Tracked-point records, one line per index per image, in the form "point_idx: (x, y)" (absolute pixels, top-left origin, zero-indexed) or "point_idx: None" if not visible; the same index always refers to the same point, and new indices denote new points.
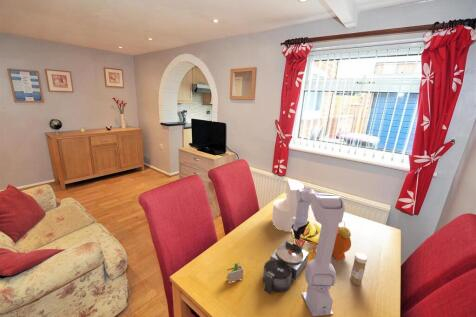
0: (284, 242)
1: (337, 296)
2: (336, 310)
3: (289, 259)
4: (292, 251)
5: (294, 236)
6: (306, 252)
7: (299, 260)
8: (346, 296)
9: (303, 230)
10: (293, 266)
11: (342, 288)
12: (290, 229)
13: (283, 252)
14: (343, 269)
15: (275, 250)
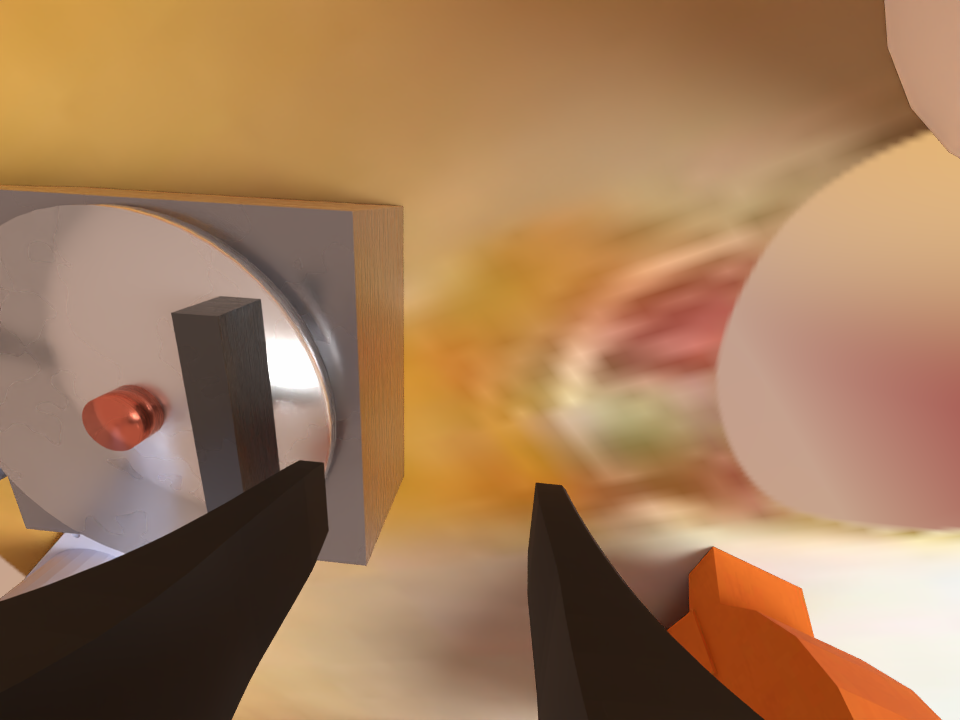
0: (328, 233)
1: (255, 675)
2: None
3: (21, 447)
4: (180, 432)
5: (268, 478)
6: (354, 547)
7: (112, 542)
8: (295, 710)
9: (535, 643)
10: None
11: (338, 693)
12: (958, 98)
13: (53, 337)
14: (525, 694)
15: (52, 193)
